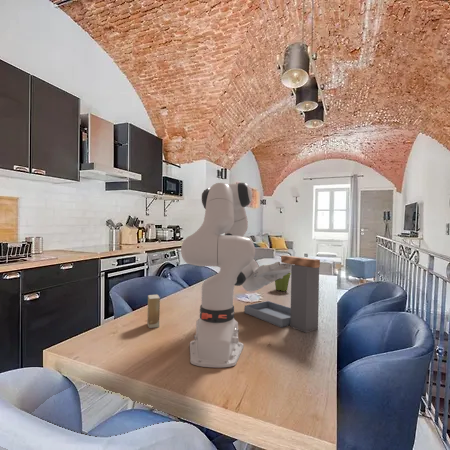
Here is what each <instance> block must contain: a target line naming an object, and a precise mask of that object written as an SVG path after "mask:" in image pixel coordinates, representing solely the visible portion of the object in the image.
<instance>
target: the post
mask: <svg viewBox="0 0 450 450" xmlns="http://www.w3.org/2000/svg"><path fill="white" fill-rule="evenodd" d="M290 273H291V275H290V308H291V317H290V326H289V327H291V328H293V329H296V330H298V331H301V332H303V333H309V332H311V331H315V330H317V329H319V306H320V305H319V299H320V298H319V295H320V267H317V268H313V267H307V266H301V265H291V272H290Z"/></svg>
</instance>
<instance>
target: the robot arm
mask: <svg viewBox="0 0 450 450" xmlns="http://www.w3.org/2000/svg"><path fill="white" fill-rule="evenodd" d="M252 197H253V193H252V189H251V188H250V185H249V184H248V183H246V182H238V183H228V184H227V183H225V182H215V183H214V184H212V186H210V187H208V188H206V189H204V190H203V192H202V193H201V204H202V207H203V208H204V209H205V210H204V211H205V212H204V213H205V214H204V218H203V222H202V224H201V226H200V227H199V228H198V229H197V230H196V231H195V232H193V233H192V234H190V235H189V236H186V238H185V239H184V240H183V241H182V243H181V247H180V255H181V257H182V259H183V261H184V263H186V264H187V265H191V266H197V267H219V268H220V269H219V271H218V273H216V274H214V275H212V276H209V277H208V278H207V279H205V280H204V281H203V283H202V285H201V304H200V307H199V318H198V319H197V320H196V322H195V334H194V335H193V339H194V340H191V341H190V342H189V357H190V359H189V361H190V364H191V365H194V366H197V367H202V368H203V367H204V368H214V369H215V368H219V369H221V368H230V367H233V366H236V364H237V363H238V360H239V358H240V356H241V353H242V352H243V350H244V343H243V342H241V341H239V338H240V337H239V333H240V332H239V331H240V330H239V322H238V320H236V319H235V306H234V292H235V291H234V290H235V286H236V287H238V286H240V287H241V286H242V288H243V289H244V290H245V291H247V292H250V293H252V292H256V291H259V290H260V289H263V288H264V287H265V286H268V285H270V284H271V283H275V281H276V280H279V279H282V278H283V276H284V275H286V274H288V273H291V265H294V264H288V263H282V262H281V261H276V262H273V263H271V264H269V263H268V264H262V265H259V264H258V262H257V260H256V259H255V255H256V247H255V244H254V242H253V241H252V240H251V238H250V237H246V236H245V234H246V233H247V231H248V227H249V225H248V217H247V212H246V208H245V207H247V206H249V205H250V204H251V202H252Z"/></svg>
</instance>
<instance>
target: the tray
mask: <svg viewBox="0 0 450 450" xmlns="http://www.w3.org/2000/svg"><path fill="white" fill-rule="evenodd" d="M243 312H244V314H246V315H249V316H251V317H254V318H257V319H259V320H262V321H264V322H266V323H269V324H272V325H274V326H276V327H278V328H286V327H290V317H291V307H289V306H286V305H283V304H279V303H276V302H273V301H271V300H270V301H269V300H265V301H261V302H256V303H253V304H246V305H244V311H243Z"/></svg>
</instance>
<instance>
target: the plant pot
mask: <svg viewBox="0 0 450 450" xmlns="http://www.w3.org/2000/svg"><path fill="white" fill-rule="evenodd" d="M290 279H291V272H289V273H288V274H286V275H284V276H283V278H282V279H279V280H276V281H274V285H275V290H276V291H277V290H281V291H280V292H286V291H285V290H287V291H288V287H289V282H290Z"/></svg>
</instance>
